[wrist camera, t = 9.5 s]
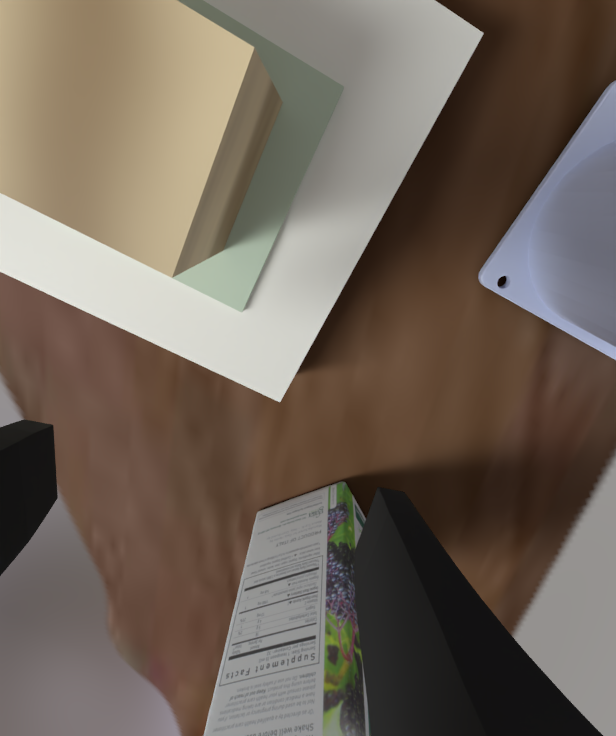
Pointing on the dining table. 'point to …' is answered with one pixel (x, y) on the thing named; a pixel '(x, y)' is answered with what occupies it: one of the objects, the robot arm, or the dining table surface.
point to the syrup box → (296, 626)
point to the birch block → (131, 123)
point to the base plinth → (276, 188)
